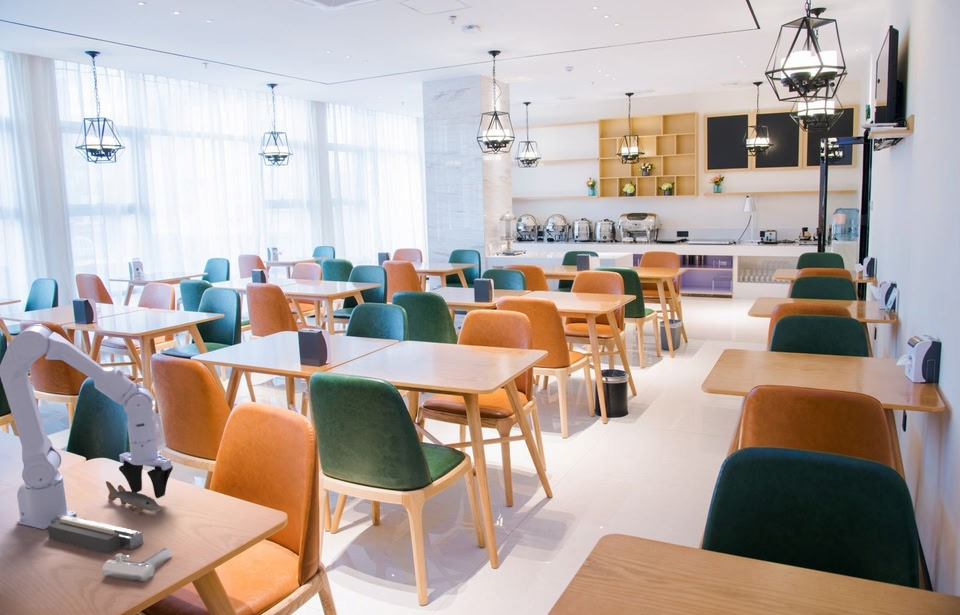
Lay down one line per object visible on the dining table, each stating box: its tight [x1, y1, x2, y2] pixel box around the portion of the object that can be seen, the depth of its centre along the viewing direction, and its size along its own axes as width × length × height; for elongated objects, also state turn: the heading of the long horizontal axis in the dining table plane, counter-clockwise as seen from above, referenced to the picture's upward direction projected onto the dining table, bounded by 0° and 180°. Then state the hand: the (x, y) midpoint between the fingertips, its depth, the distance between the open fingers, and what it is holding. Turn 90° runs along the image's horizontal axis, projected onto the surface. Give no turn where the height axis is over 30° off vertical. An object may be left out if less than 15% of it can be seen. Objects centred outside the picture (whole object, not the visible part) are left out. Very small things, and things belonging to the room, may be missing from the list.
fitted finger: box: [47, 518, 122, 555], centre depth 146 cm, size 18×3×4 cm, turn 66°
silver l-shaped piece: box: [101, 547, 173, 582], centre depth 136 cm, size 10×4×9 cm
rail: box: [51, 514, 144, 551], centre depth 149 cm, size 24×3×3 cm, turn 66°
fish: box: [105, 481, 162, 514], centre depth 162 cm, size 4×21×5 cm, turn 58°
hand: (148, 494), depth 166 cm, fingers open, 7 cm apart
